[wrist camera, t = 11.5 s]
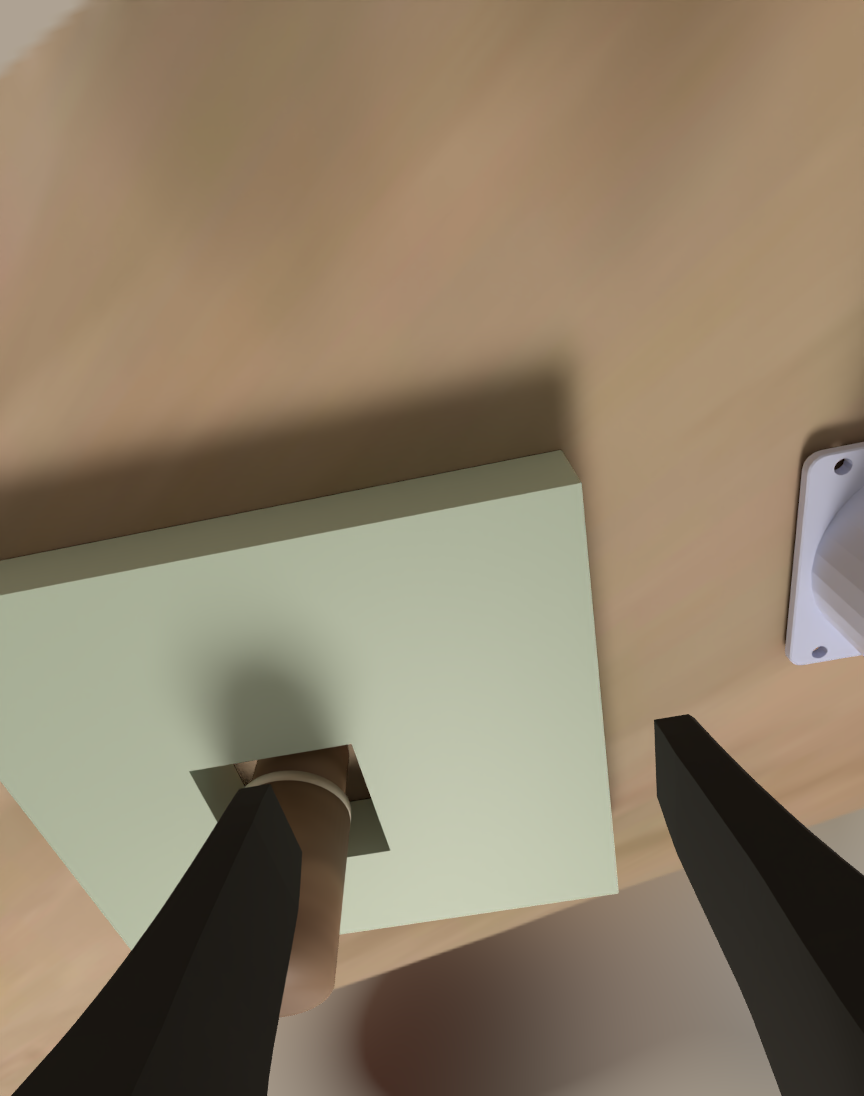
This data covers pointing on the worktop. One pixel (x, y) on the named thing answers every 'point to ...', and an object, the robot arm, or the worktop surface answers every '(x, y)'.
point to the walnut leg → (313, 864)
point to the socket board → (324, 692)
